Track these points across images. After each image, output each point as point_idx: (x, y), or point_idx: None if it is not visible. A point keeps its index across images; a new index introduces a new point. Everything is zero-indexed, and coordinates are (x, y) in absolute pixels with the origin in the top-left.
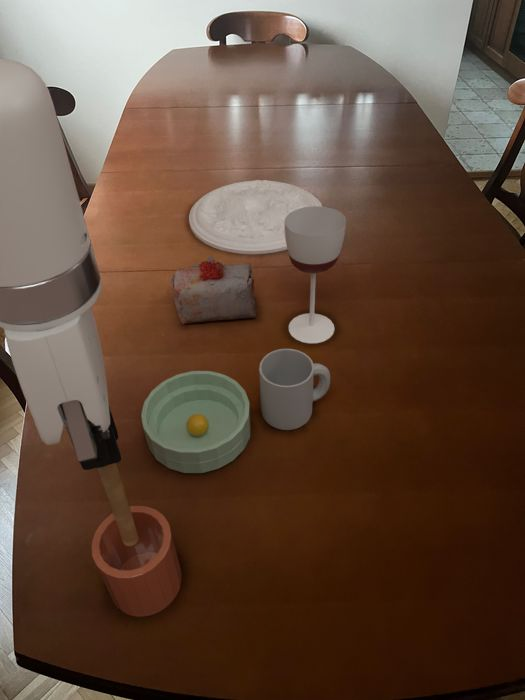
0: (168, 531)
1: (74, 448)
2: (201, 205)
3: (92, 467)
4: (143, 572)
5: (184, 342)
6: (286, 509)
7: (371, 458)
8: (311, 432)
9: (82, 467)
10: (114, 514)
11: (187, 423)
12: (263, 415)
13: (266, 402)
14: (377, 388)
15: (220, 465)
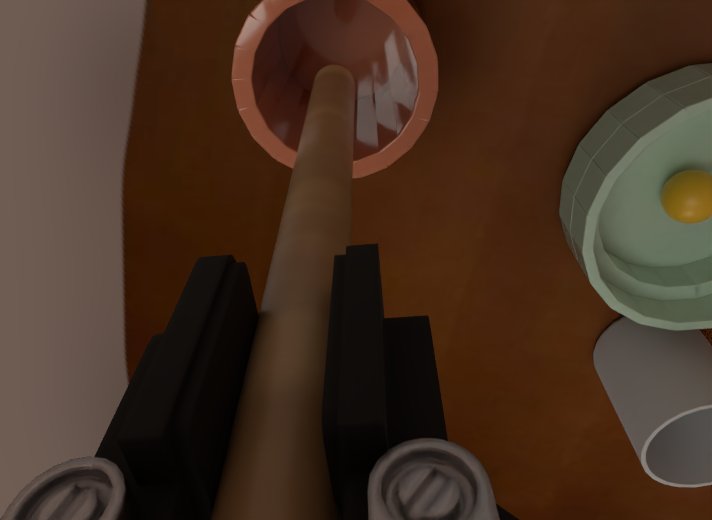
0: None
1: (144, 377)
2: None
3: (156, 335)
4: (242, 111)
5: None
6: (429, 305)
7: (483, 432)
8: (574, 371)
9: (198, 263)
10: (308, 122)
11: (703, 182)
12: None
13: (658, 356)
14: (618, 473)
15: (562, 222)
